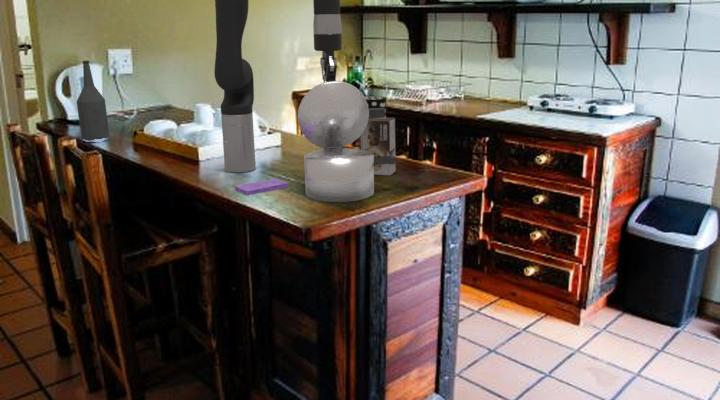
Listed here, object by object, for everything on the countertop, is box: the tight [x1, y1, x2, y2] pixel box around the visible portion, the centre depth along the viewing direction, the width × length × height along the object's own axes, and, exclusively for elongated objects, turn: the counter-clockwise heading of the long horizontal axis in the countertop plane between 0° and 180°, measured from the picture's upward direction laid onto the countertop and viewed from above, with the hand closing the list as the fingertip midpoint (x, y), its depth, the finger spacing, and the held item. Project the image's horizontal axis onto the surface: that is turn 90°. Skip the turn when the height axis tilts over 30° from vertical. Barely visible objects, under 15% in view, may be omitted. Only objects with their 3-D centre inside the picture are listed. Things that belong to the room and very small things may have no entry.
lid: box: [297, 80, 385, 149], centre depth 167 cm, size 24×20×3 cm
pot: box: [303, 147, 397, 203], centre depth 163 cm, size 24×18×10 cm
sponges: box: [234, 178, 289, 196], centre depth 169 cm, size 7×13×2 cm, turn 126°
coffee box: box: [361, 116, 397, 176], centre depth 183 cm, size 9×6×16 cm
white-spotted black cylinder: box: [359, 96, 387, 150], centre depth 198 cm, size 8×8×20 cm
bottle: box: [76, 60, 111, 140], centre depth 234 cm, size 10×10×30 cm
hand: (329, 97), depth 172 cm, fingers closed
